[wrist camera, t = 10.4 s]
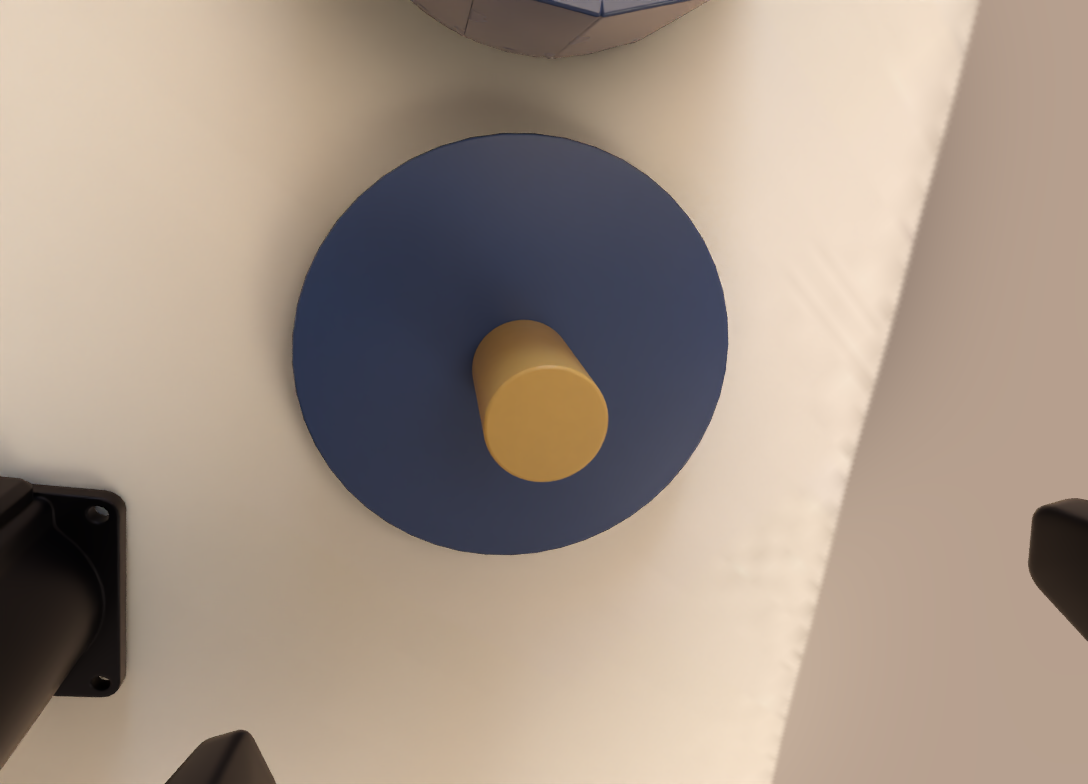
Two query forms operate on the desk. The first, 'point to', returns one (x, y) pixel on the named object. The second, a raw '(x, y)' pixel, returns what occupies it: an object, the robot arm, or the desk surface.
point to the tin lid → (510, 343)
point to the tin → (556, 22)
